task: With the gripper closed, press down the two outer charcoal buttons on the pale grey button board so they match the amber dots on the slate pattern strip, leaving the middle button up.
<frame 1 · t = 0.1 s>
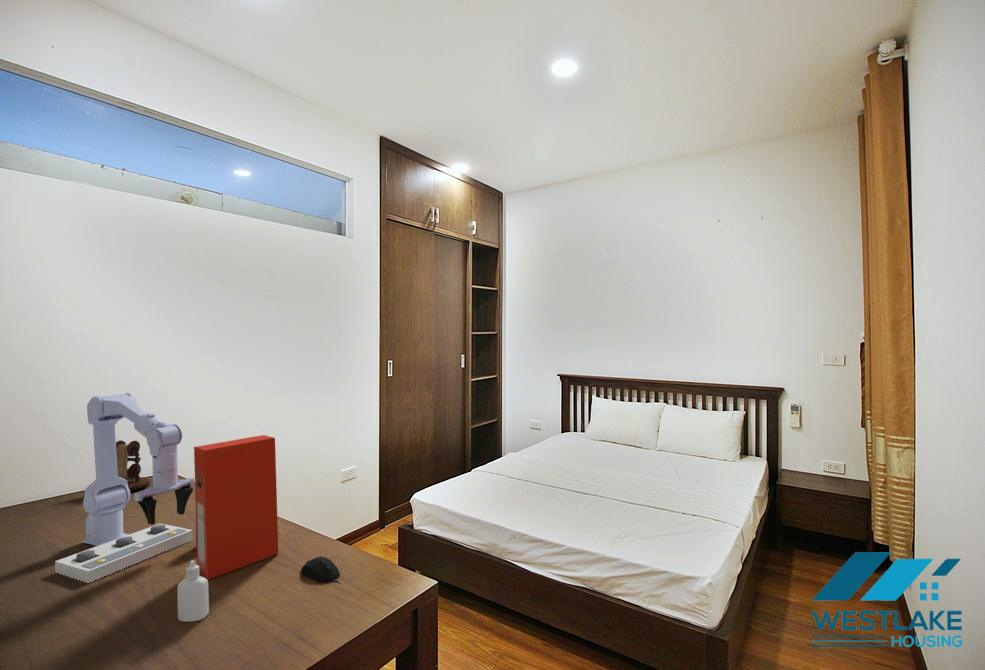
hand: (166, 518, 130), 10 cm above the table, tool pointing down, fingers open, 7 cm apart
button 2: (158, 530, 139), point 3 cm above the table, slide at 0.0 cm
button board: (128, 555, 130), on the table
eye dropper bottle: (193, 618, 99), on the table
gaming mouse: (323, 577, 116), on the table
file binder: (239, 563, 124), on the table
button 1: (85, 557, 122), point 3 cm above the table, slide at 0.0 cm
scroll: (127, 490, 189), on the table
pill bottle: (207, 546, 135), on the table
button middle: (124, 542, 131), point 3 cm above the table, slide at 0.0 cm
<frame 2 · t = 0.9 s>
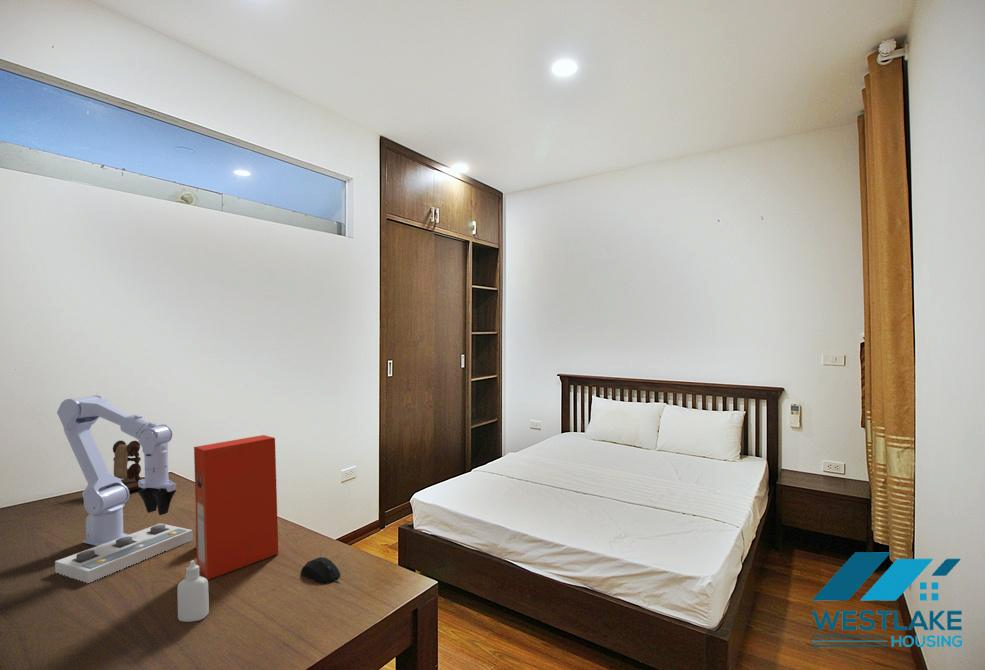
hand: (157, 512, 139), 8 cm above the table, tool pointing down, fingers open, 5 cm apart
nothing on the table moved.
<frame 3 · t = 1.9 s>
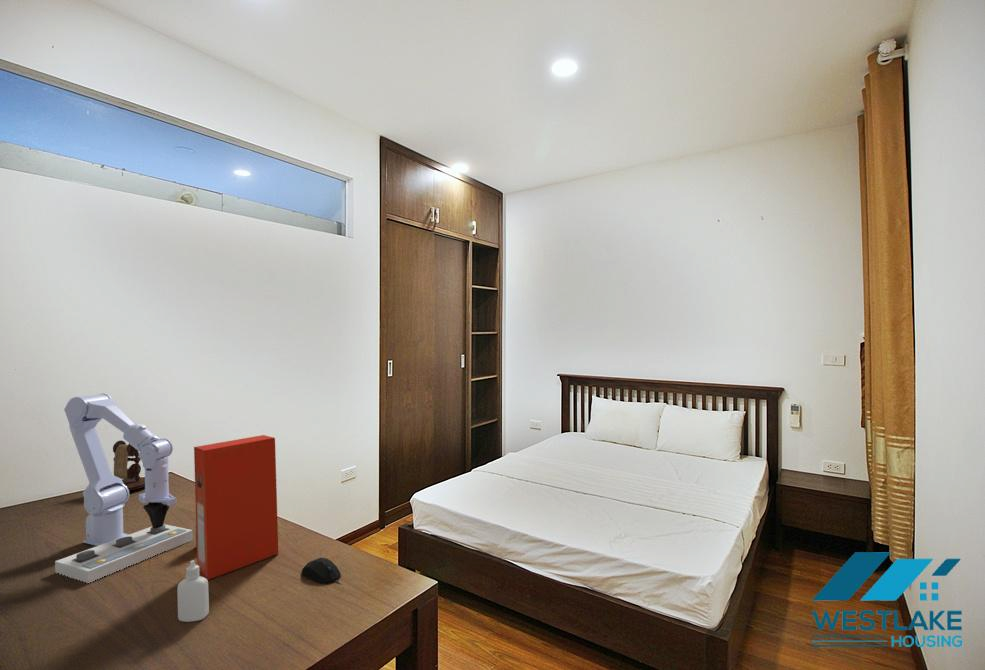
hand: (158, 527, 139), 4 cm above the table, tool pointing down, fingers closed, pressing on button 2
button 2: (158, 530, 139), point 3 cm above the table, slide at 0.0 cm, touching gripper
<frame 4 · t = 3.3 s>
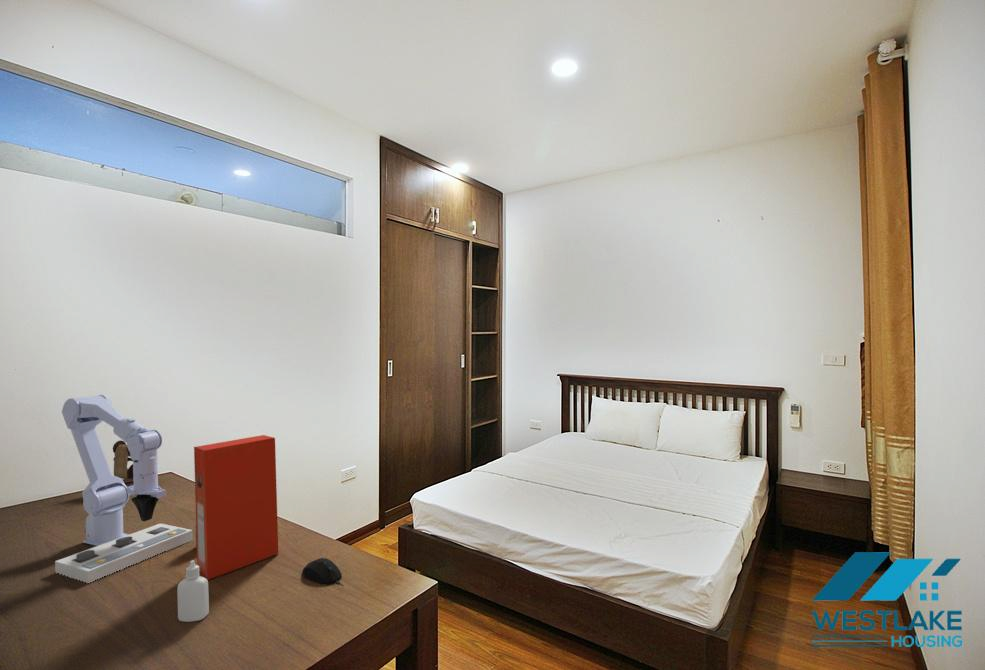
hand: (146, 519, 136), 7 cm above the table, tool pointing down, fingers closed
button 2: (158, 534, 139), point 2 cm above the table, slide at 1.2 cm
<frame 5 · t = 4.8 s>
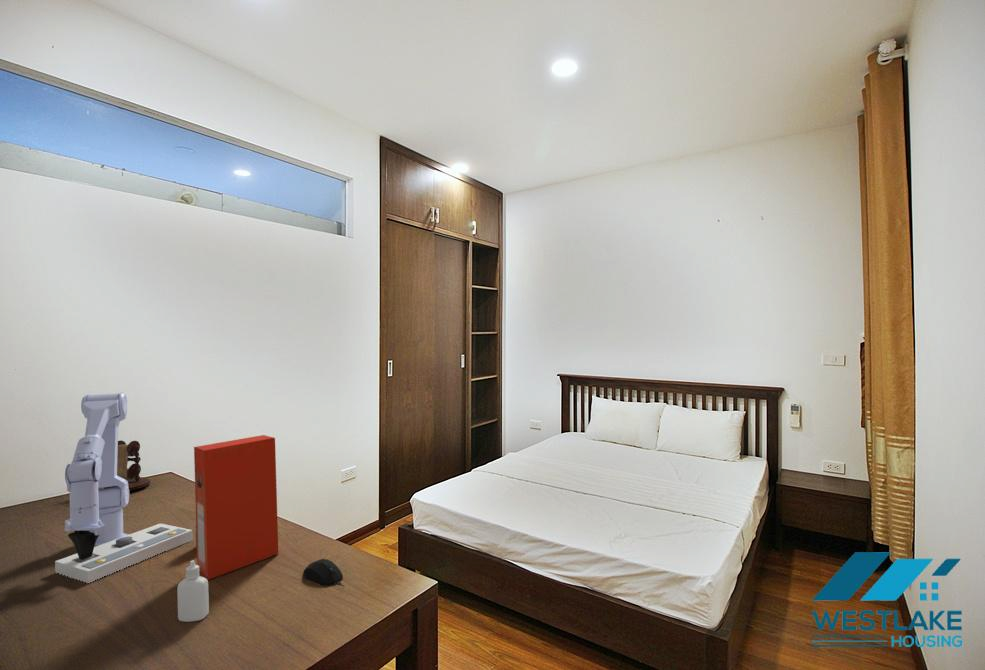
hand: (85, 557, 122), 3 cm above the table, tool pointing down, fingers closed, pressing on button 1
button 1: (85, 561, 122), point 2 cm above the table, slide at 1.1 cm, touching gripper
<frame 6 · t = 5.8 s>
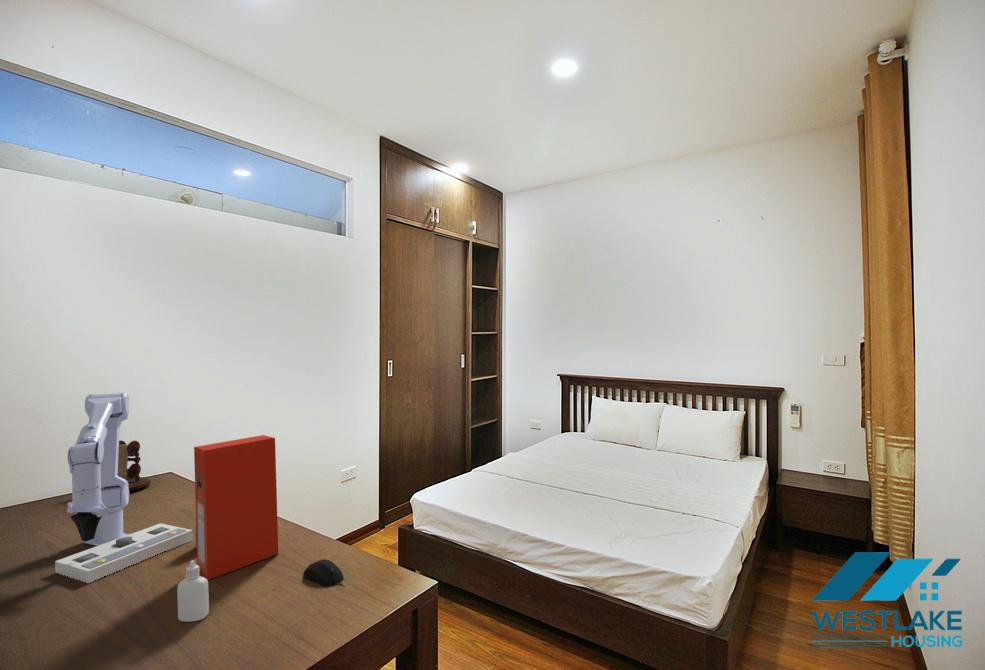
hand: (88, 539, 123), 7 cm above the table, tool pointing down, fingers closed
button 1: (85, 561, 122), point 2 cm above the table, slide at 1.2 cm
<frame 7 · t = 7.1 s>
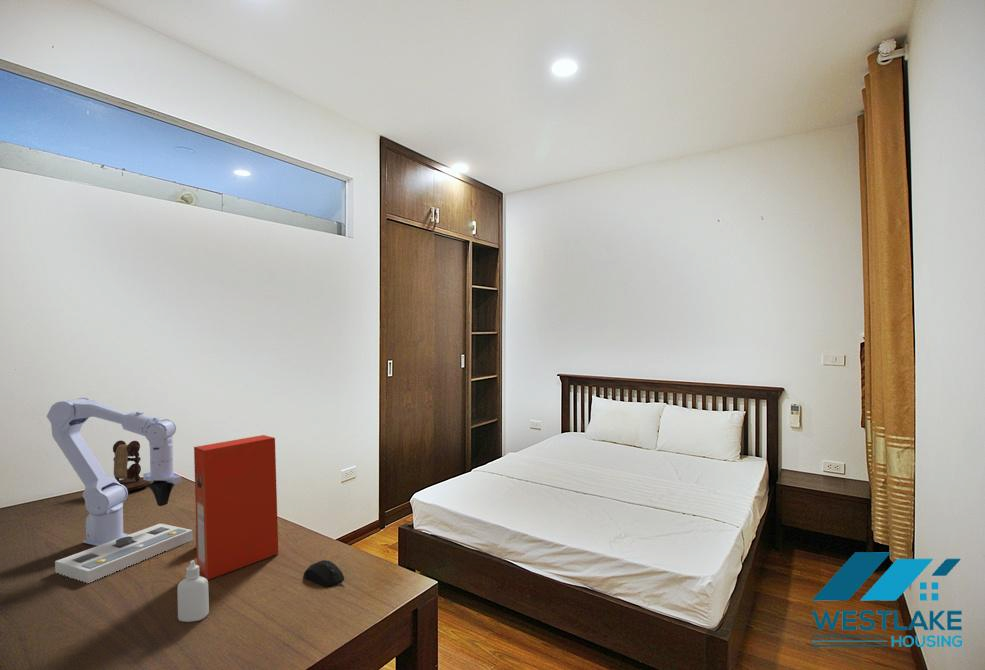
hand: (162, 504, 143), 9 cm above the table, tool pointing down, fingers closed
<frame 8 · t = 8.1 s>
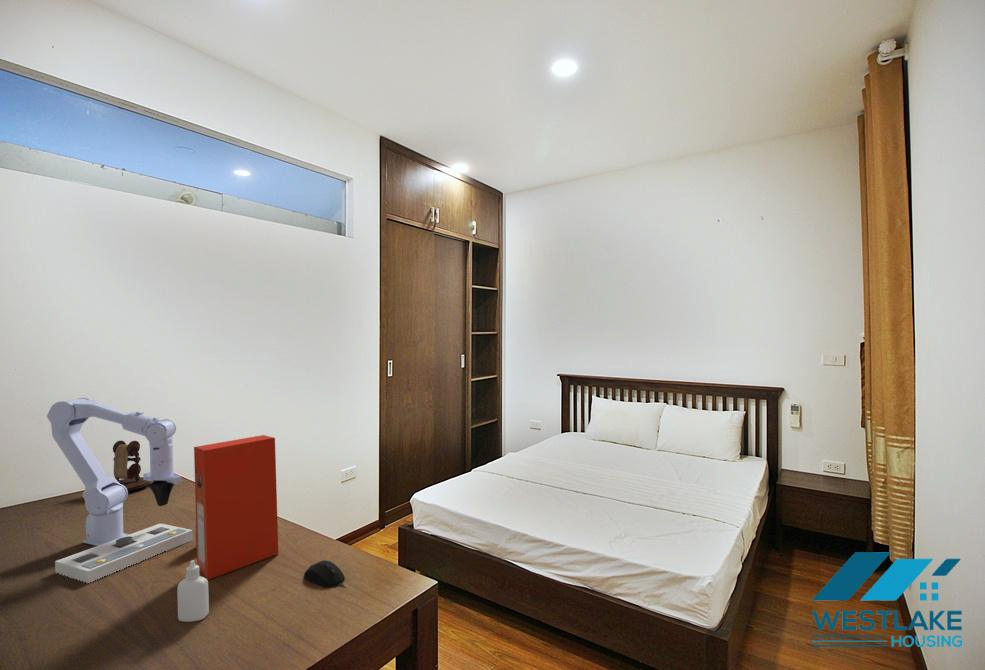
hand: (162, 504, 143), 9 cm above the table, tool pointing down, fingers closed
at the end: button 2 slide at 1.2 cm; button 1 slide at 1.2 cm; button middle slide at 0.0 cm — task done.
